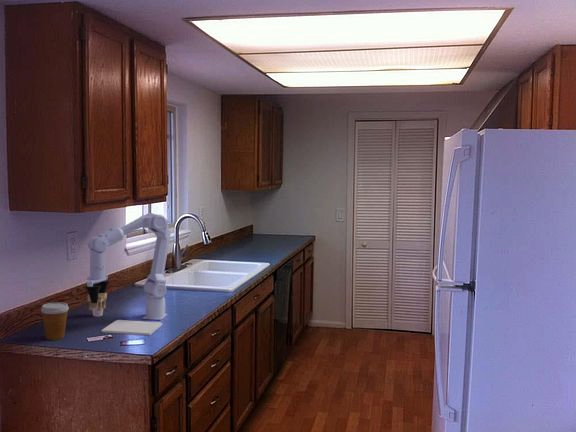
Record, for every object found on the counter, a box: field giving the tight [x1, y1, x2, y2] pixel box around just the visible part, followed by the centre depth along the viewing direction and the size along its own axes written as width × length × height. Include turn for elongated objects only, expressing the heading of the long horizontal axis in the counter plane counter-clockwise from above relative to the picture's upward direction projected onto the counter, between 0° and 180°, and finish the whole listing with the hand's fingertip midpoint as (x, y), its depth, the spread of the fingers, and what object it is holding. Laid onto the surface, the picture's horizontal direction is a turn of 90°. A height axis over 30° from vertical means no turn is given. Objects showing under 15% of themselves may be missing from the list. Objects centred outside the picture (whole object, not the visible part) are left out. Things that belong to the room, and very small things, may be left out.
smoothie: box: [92, 302, 104, 318], centre depth 236 cm, size 6×6×14 cm
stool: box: [87, 292, 108, 311], centre depth 220 cm, size 5×5×6 cm
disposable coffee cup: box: [40, 302, 70, 341], centre depth 204 cm, size 10×10×12 cm
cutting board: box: [101, 319, 163, 336], centre depth 219 cm, size 15×19×1 cm
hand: (97, 301), depth 220 cm, fingers closed on stool, 5 cm apart
